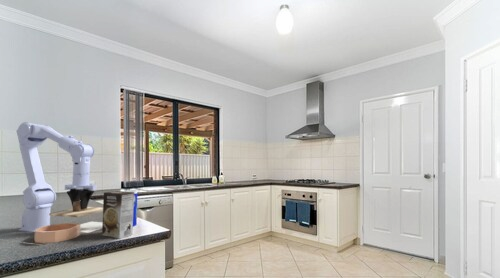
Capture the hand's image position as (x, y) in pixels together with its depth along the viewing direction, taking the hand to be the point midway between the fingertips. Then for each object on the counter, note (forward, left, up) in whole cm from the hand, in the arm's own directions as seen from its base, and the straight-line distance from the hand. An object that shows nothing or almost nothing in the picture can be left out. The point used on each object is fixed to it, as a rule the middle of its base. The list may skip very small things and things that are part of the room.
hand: (79, 208), depth 105 cm
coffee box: (+19, 0, -9) cm, 21 cm away
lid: (0, 0, -2) cm, 2 cm away
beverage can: (+14, +12, -9) cm, 21 cm away
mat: (-1, +6, -9) cm, 11 cm away
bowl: (+1, -9, -9) cm, 13 cm away
